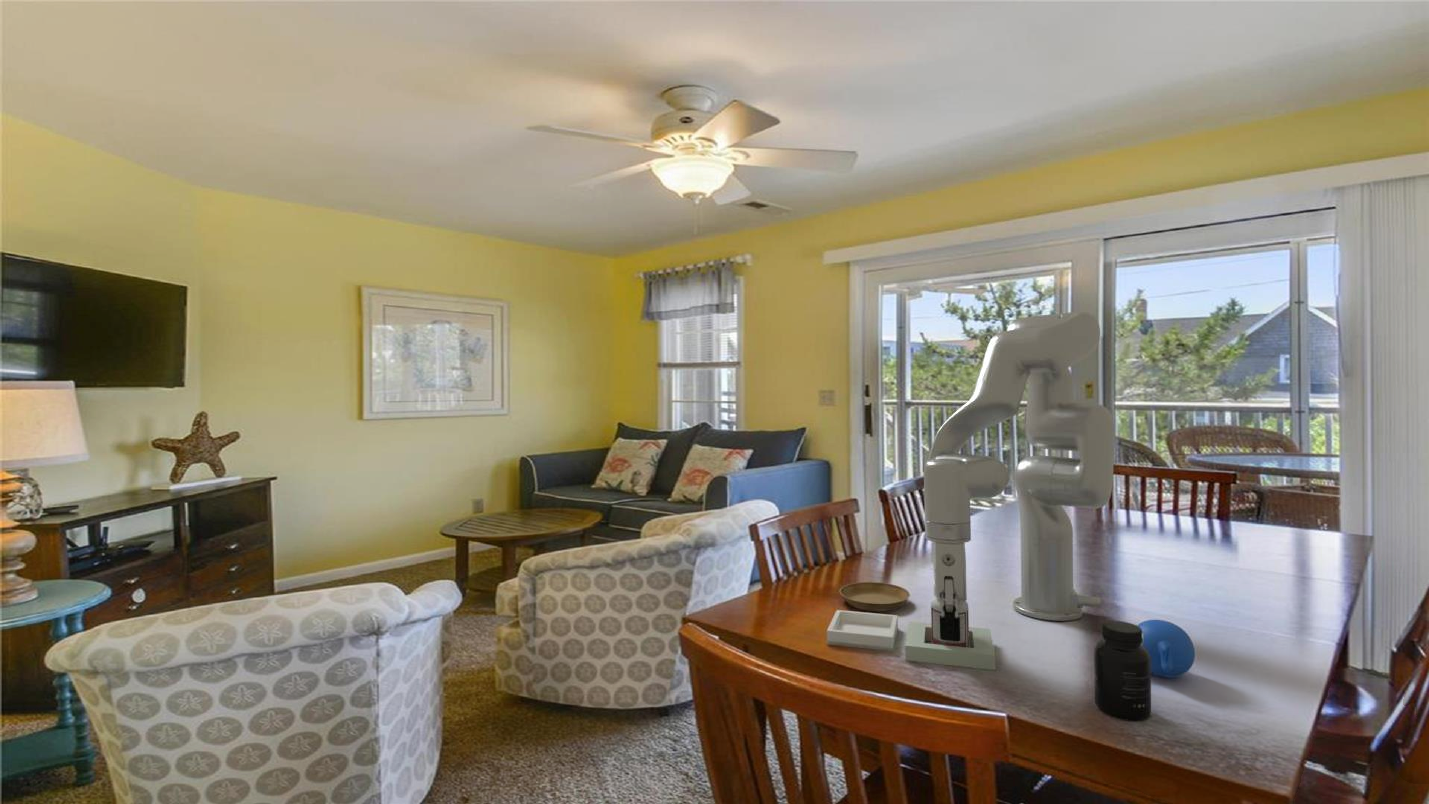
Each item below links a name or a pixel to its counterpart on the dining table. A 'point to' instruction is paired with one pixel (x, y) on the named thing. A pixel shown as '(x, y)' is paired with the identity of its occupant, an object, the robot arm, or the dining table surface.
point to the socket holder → (950, 648)
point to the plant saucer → (874, 596)
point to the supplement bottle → (1122, 672)
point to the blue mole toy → (1167, 648)
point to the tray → (863, 630)
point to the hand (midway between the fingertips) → (950, 631)
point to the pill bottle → (937, 613)
